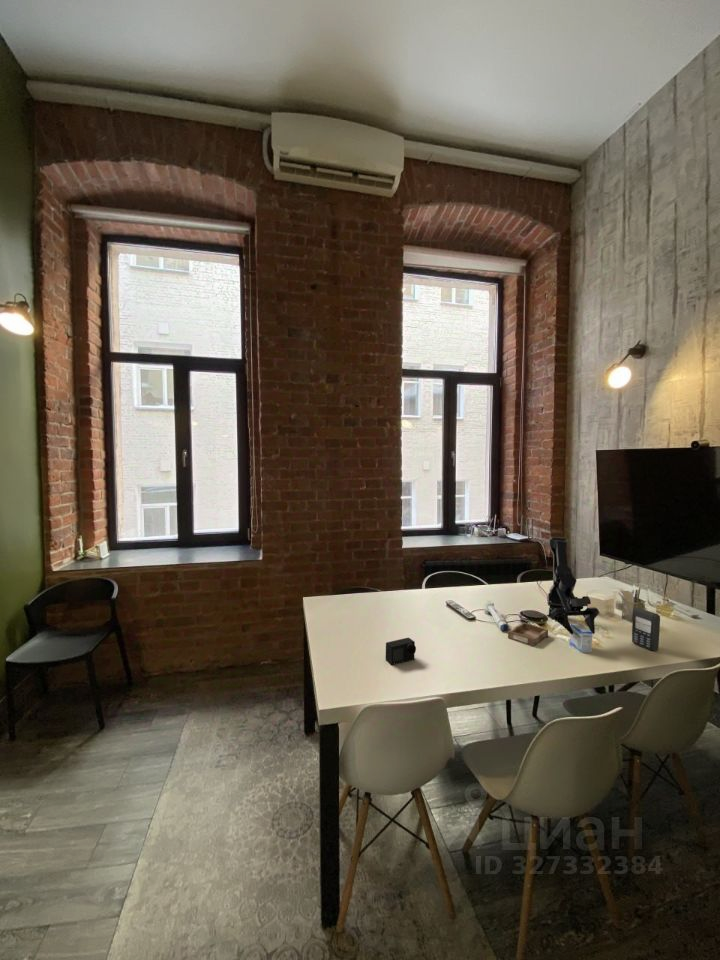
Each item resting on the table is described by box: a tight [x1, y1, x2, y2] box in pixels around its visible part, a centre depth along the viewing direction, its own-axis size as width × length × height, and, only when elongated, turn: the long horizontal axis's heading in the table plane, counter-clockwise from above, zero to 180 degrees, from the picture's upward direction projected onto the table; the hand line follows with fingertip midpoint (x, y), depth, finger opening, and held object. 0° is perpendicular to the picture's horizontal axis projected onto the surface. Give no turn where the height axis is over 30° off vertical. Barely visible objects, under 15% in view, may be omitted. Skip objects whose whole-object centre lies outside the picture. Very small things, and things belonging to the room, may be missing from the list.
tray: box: [507, 622, 549, 648], centre depth 174 cm, size 15×11×3 cm
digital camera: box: [385, 637, 417, 666], centre depth 151 cm, size 10×5×7 cm, turn 118°
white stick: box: [483, 600, 510, 633], centre depth 192 cm, size 5×7×25 cm
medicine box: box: [569, 623, 593, 654], centre depth 164 cm, size 8×4×9 cm, turn 5°
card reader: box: [631, 607, 661, 652], centre depth 166 cm, size 9×4×15 cm, turn 23°
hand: (583, 633), depth 163 cm, fingers open, 9 cm apart
